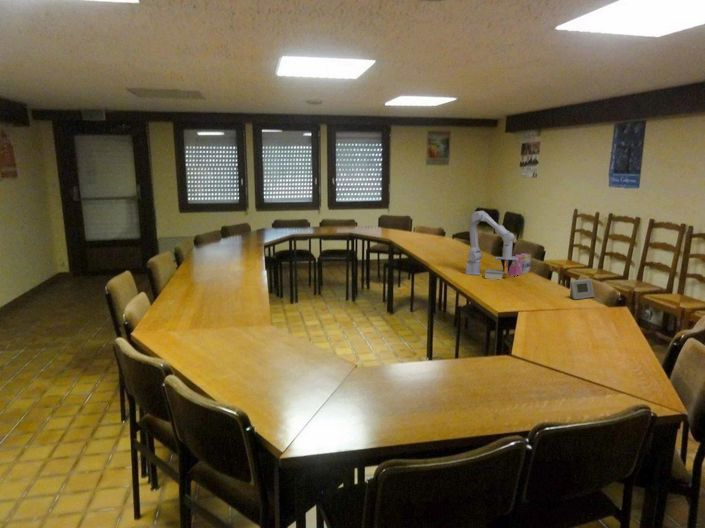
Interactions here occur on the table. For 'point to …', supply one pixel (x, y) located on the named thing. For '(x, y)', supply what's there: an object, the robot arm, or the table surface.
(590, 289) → the digital clock
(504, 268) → the lid
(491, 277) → the tub
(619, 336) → the table surface
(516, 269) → the gum box
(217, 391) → the table surface
